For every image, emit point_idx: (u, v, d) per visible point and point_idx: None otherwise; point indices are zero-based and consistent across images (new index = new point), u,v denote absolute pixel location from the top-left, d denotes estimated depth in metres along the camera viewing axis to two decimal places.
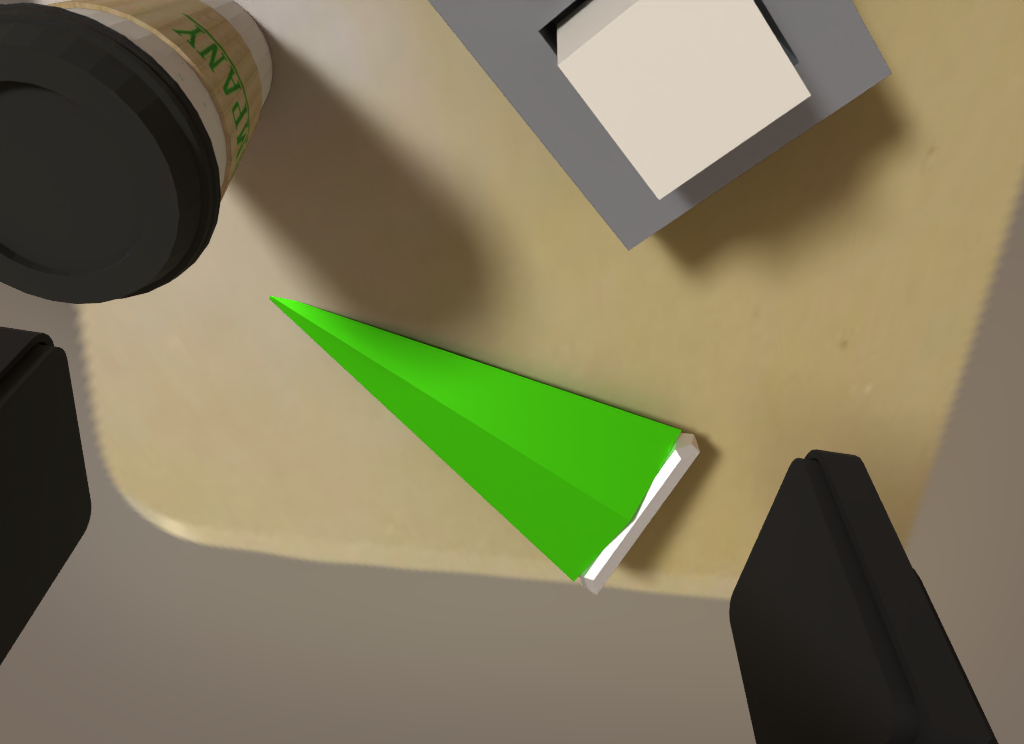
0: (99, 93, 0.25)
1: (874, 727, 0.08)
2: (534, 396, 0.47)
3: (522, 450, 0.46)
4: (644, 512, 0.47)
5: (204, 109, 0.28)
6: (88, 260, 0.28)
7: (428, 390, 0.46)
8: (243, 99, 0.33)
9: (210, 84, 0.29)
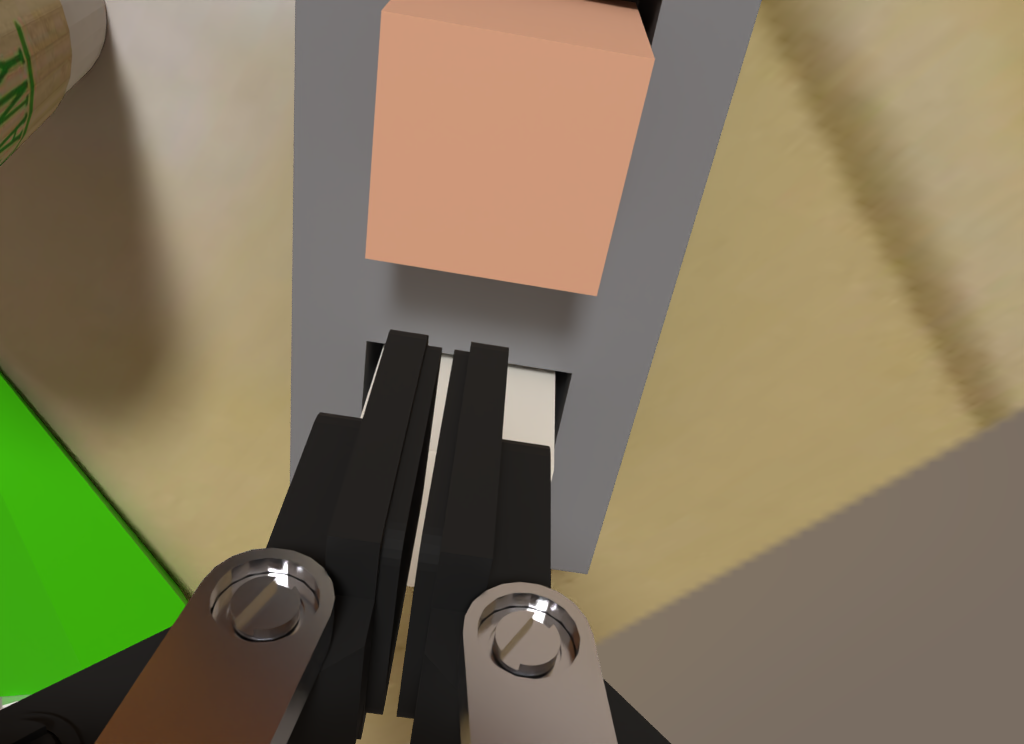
0: None
1: None
2: (95, 524, 0.40)
3: (39, 566, 0.39)
4: None
5: None
6: None
7: None
8: (12, 149, 0.24)
9: None
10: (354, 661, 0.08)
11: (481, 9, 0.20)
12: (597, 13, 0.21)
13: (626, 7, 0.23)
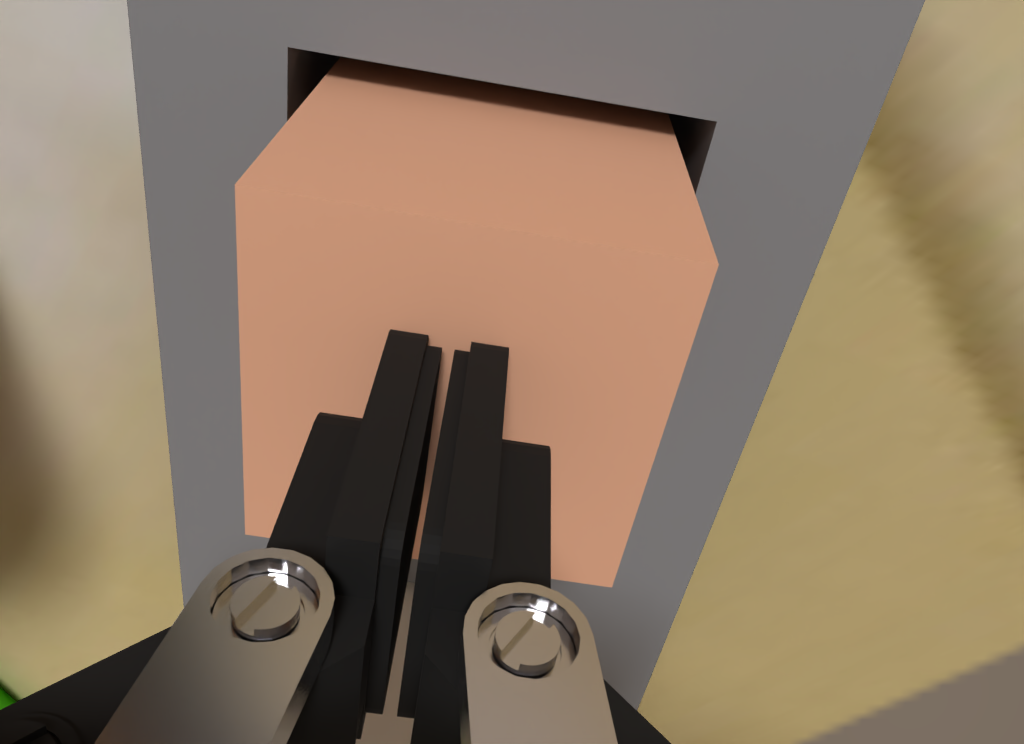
0: None
1: None
2: None
3: None
4: None
5: None
6: None
7: None
8: None
9: None
10: (354, 661, 0.08)
11: (421, 159, 0.12)
12: (612, 147, 0.14)
13: (656, 127, 0.15)
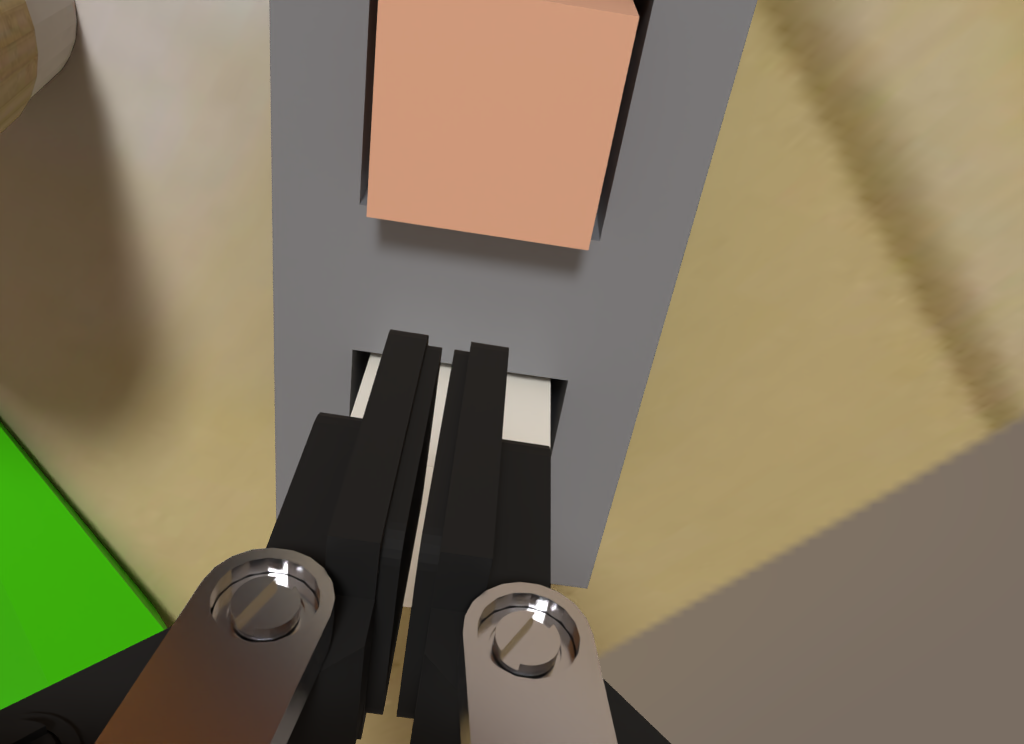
0: None
1: None
2: (68, 543, 0.39)
3: (9, 587, 0.38)
4: None
5: None
6: None
7: None
8: None
9: None
10: (354, 661, 0.08)
11: None
12: None
13: None
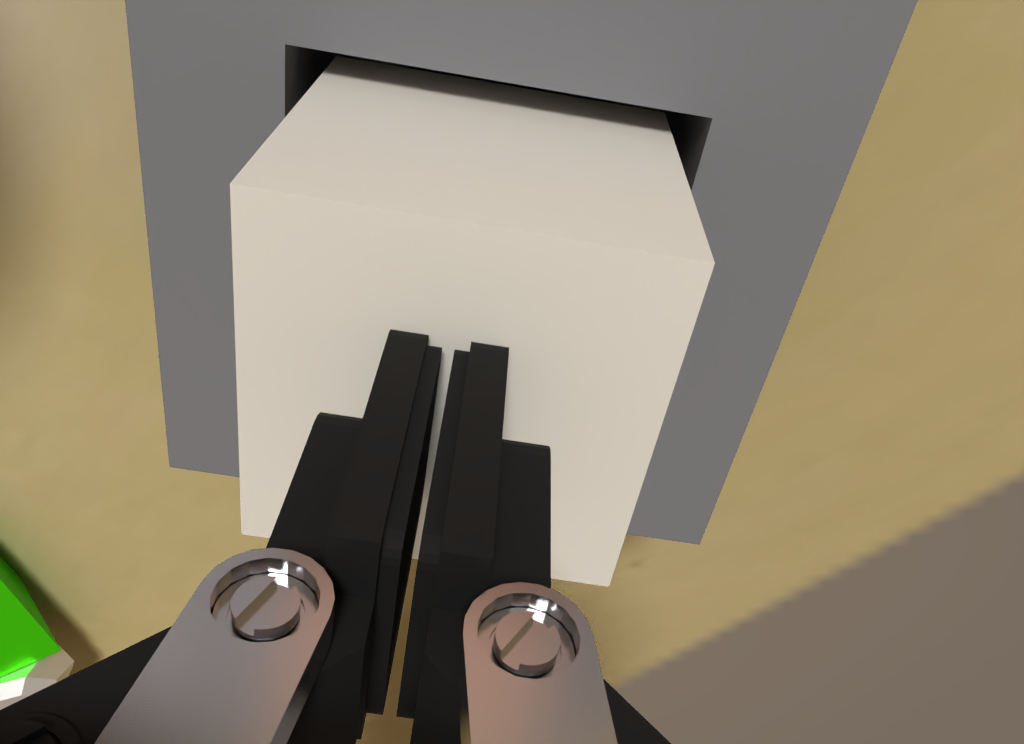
0: None
1: None
2: None
3: None
4: None
5: None
6: None
7: None
8: None
9: None
10: (354, 661, 0.08)
11: None
12: None
13: None
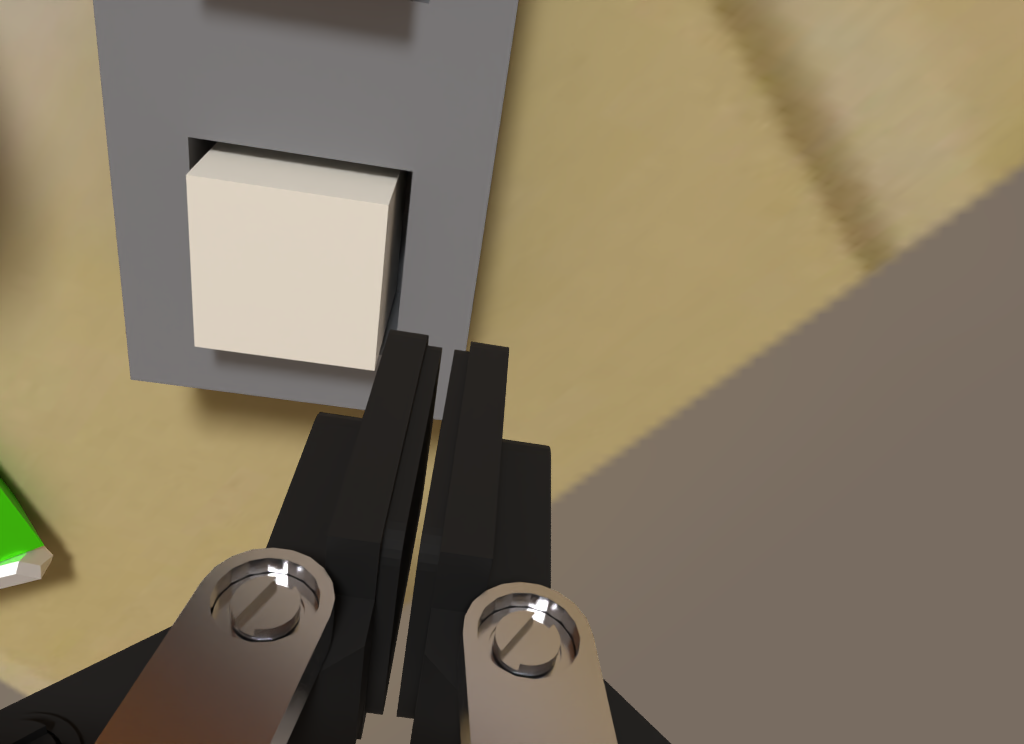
0: None
1: None
2: None
3: None
4: None
5: None
6: None
7: None
8: None
9: None
10: (354, 661, 0.08)
11: None
12: None
13: None
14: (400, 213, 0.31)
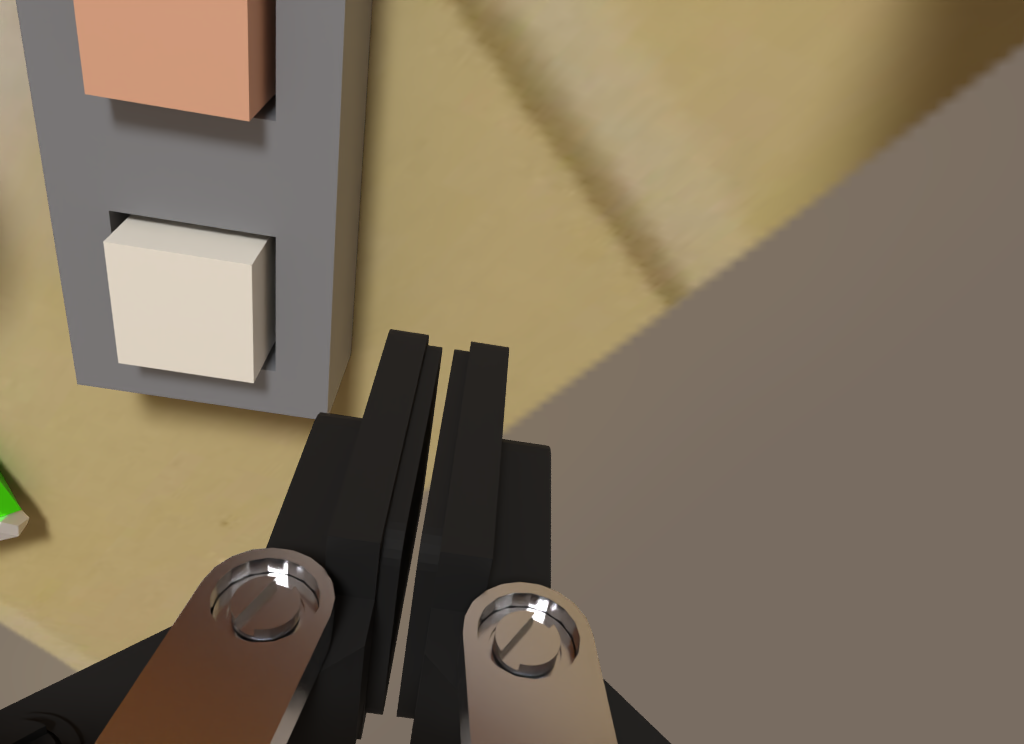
0: None
1: None
2: None
3: None
4: None
5: None
6: None
7: None
8: None
9: None
10: (354, 661, 0.08)
11: None
12: None
13: None
14: None
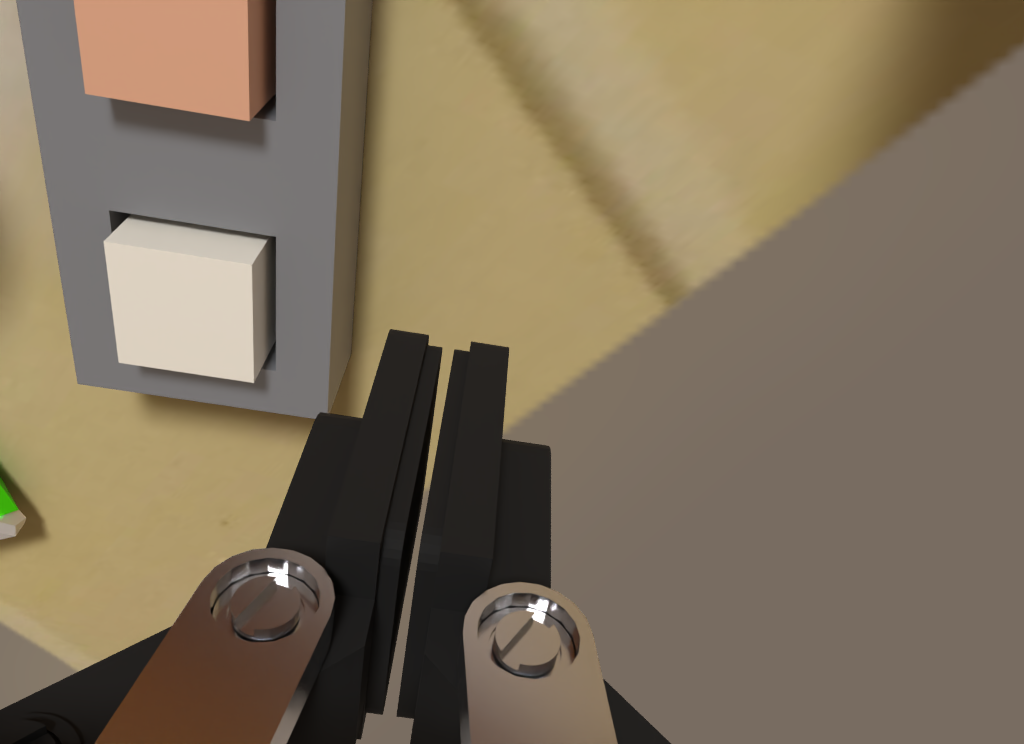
0: None
1: None
2: None
3: None
4: None
5: None
6: None
7: None
8: None
9: None
10: (354, 661, 0.08)
11: None
12: None
13: None
14: None
